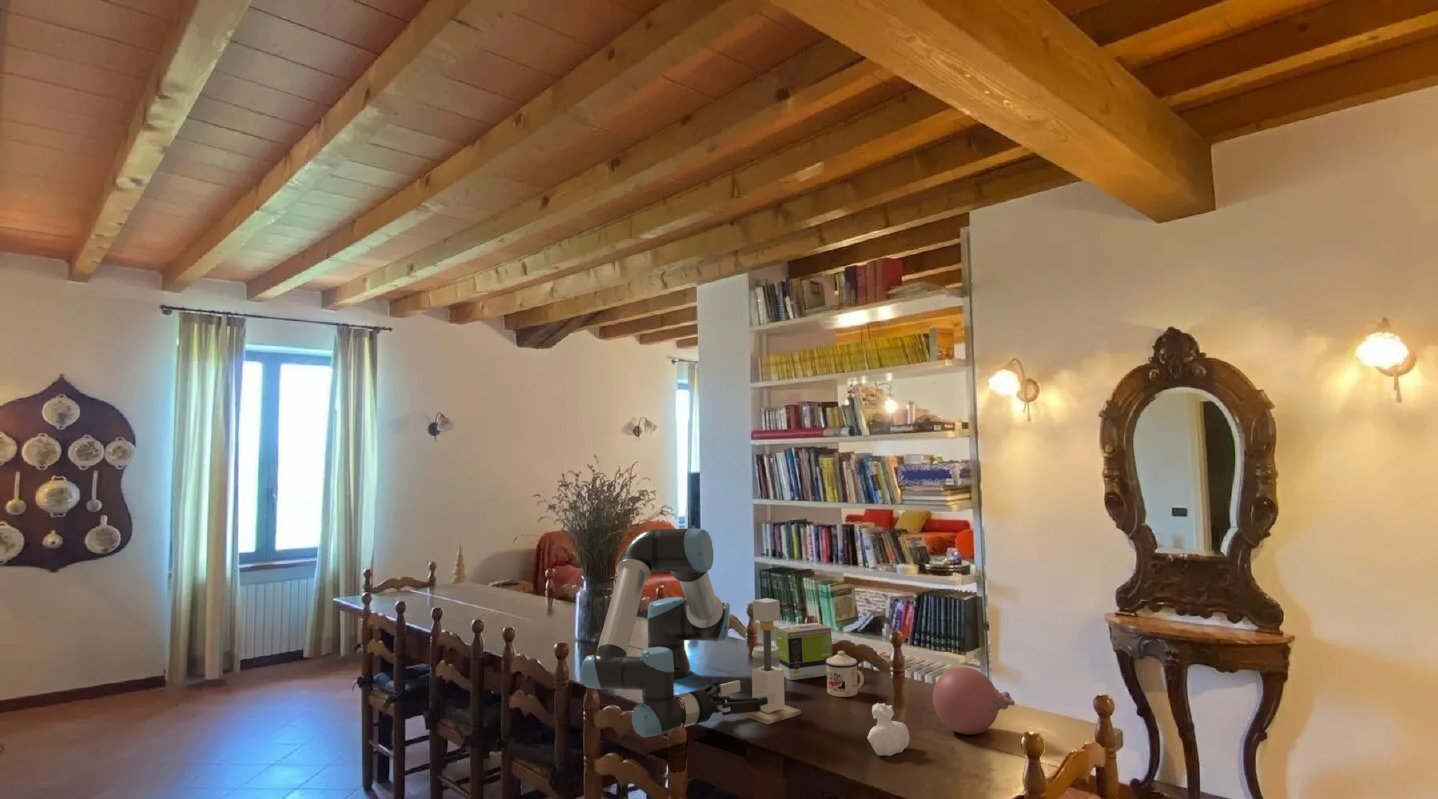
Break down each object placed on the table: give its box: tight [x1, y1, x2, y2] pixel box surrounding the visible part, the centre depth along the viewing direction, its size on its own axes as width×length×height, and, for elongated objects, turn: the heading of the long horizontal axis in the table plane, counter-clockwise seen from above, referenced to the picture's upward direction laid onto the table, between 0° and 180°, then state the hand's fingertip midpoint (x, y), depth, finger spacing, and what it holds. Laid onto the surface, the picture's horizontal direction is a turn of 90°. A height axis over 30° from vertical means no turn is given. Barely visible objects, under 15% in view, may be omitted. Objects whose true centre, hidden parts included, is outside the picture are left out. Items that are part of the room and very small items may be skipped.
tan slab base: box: [737, 704, 802, 725], centre depth 208 cm, size 12×12×1 cm
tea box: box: [775, 622, 834, 681], centre depth 246 cm, size 15×10×15 cm, turn 108°
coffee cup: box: [751, 645, 781, 669], centre depth 230 cm, size 8×9×12 cm
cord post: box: [752, 597, 781, 671], centre depth 209 cm, size 5×5×28 cm
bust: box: [867, 702, 910, 757], centre depth 181 cm, size 12×8×11 cm
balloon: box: [932, 666, 1015, 736], centre depth 190 cm, size 15×20×15 cm
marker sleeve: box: [751, 666, 786, 713], centre depth 208 cm, size 6×6×10 cm
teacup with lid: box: [826, 650, 865, 698], centre depth 224 cm, size 12×9×12 cm
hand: (756, 691), depth 205 cm, fingers open, 13 cm apart
